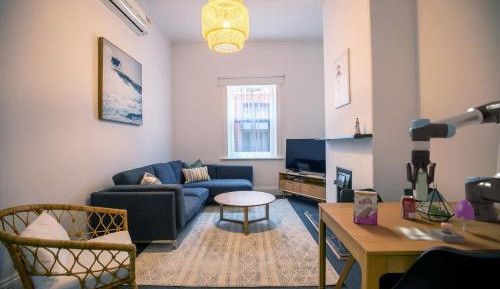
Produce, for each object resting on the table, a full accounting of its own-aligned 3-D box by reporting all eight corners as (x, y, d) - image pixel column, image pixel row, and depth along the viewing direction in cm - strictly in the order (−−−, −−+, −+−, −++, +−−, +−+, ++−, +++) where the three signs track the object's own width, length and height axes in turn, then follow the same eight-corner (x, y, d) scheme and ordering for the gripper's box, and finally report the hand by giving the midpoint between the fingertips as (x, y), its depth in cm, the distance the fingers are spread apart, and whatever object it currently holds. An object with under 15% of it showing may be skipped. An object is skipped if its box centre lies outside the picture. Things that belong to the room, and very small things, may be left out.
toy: (476, 235, 104) (476, 202, 104) (456, 232, 107) (456, 200, 107) (472, 230, 109) (472, 199, 109) (453, 228, 113) (453, 197, 113)
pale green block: (422, 199, 117) (422, 171, 117) (426, 200, 113) (426, 172, 113) (414, 198, 118) (414, 171, 118) (418, 200, 114) (418, 172, 114)
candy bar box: (353, 223, 120) (353, 191, 120) (353, 220, 125) (353, 190, 125) (378, 226, 115) (377, 193, 116) (377, 223, 120) (377, 191, 120)
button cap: (448, 232, 101) (448, 222, 101) (455, 235, 97) (455, 225, 97) (438, 231, 102) (438, 222, 102) (445, 235, 98) (445, 225, 98)
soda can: (418, 220, 125) (417, 198, 125) (404, 219, 127) (404, 197, 127) (411, 216, 132) (411, 195, 132) (398, 215, 133) (398, 194, 133)
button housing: (450, 235, 103) (450, 229, 103) (464, 242, 95) (464, 236, 95) (430, 234, 104) (430, 228, 104) (443, 241, 96) (443, 235, 96)
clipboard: (437, 229, 111) (437, 228, 111) (463, 243, 95) (463, 242, 95) (392, 227, 114) (392, 226, 114) (410, 240, 98) (410, 239, 98)
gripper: (434, 149, 118) (433, 195, 118) (398, 149, 121) (398, 194, 120) (444, 150, 111) (443, 198, 111) (406, 149, 113) (406, 197, 113)
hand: (420, 196), depth 116 cm, fingers closed on pale green block, 4 cm apart
